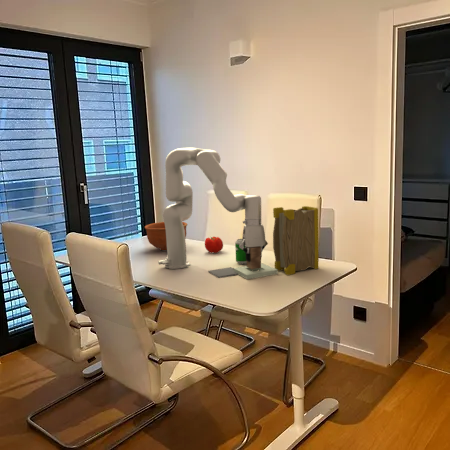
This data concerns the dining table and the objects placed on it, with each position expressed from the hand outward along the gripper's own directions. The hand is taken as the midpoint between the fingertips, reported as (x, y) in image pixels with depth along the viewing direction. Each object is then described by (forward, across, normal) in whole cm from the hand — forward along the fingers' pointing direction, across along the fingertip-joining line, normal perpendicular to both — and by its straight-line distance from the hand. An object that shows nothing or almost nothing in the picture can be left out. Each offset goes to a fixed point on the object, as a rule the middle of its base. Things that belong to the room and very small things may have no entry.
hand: (253, 259), depth 221 cm
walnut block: (+4, 0, 0) cm, 4 cm away
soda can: (+7, +4, +19) cm, 21 cm away
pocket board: (+6, 0, -1) cm, 6 cm away
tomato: (+7, +2, +49) cm, 50 cm away
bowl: (+8, -19, +72) cm, 75 cm away
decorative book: (+6, +20, -7) cm, 21 cm away
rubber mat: (+7, -12, +7) cm, 15 cm away
